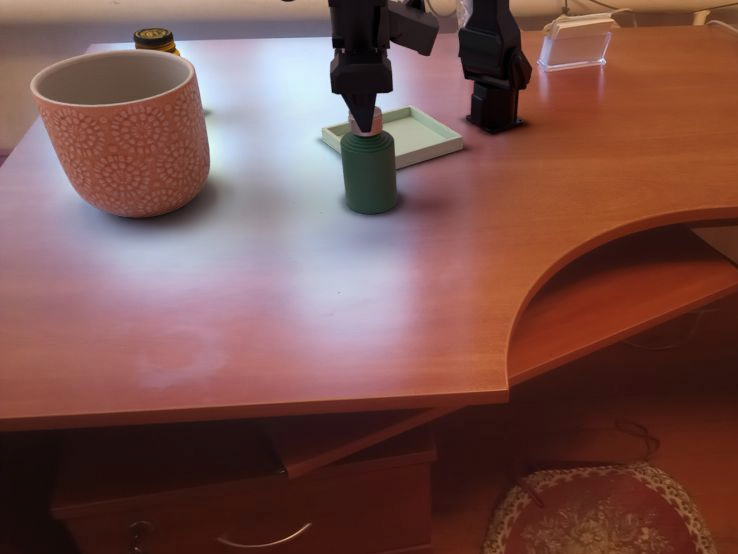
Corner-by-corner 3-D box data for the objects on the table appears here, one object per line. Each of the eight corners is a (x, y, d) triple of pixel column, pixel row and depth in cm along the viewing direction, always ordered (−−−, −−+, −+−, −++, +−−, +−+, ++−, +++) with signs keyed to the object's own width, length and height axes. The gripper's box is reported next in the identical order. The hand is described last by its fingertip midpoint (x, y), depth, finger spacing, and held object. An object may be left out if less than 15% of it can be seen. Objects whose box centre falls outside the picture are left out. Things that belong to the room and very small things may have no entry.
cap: (367, 139, 83) (366, 121, 81) (343, 130, 84) (341, 112, 83) (389, 128, 85) (388, 110, 84) (365, 119, 87) (363, 101, 85)
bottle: (388, 184, 94) (383, 102, 87) (404, 208, 90) (400, 123, 82) (340, 192, 92) (331, 109, 85) (353, 217, 88) (345, 132, 80)
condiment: (206, 113, 109) (188, 30, 102) (164, 133, 104) (142, 47, 96) (170, 103, 112) (149, 21, 104) (127, 122, 106) (102, 37, 98)
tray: (411, 116, 110) (411, 104, 109) (462, 148, 103) (463, 136, 101) (322, 140, 103) (321, 128, 102) (370, 177, 96) (369, 164, 94)
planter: (64, 241, 82) (13, 111, 72) (87, 171, 95) (46, 52, 85) (220, 226, 86) (191, 100, 75) (222, 161, 98) (197, 45, 88)
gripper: (442, 4, 68) (442, 159, 78) (426, -45, 82) (428, 91, 92) (322, 6, 67) (338, 162, 77) (326, -44, 81) (339, 94, 91)
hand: (365, 124), depth 84 cm, fingers closed on cap, 4 cm apart
